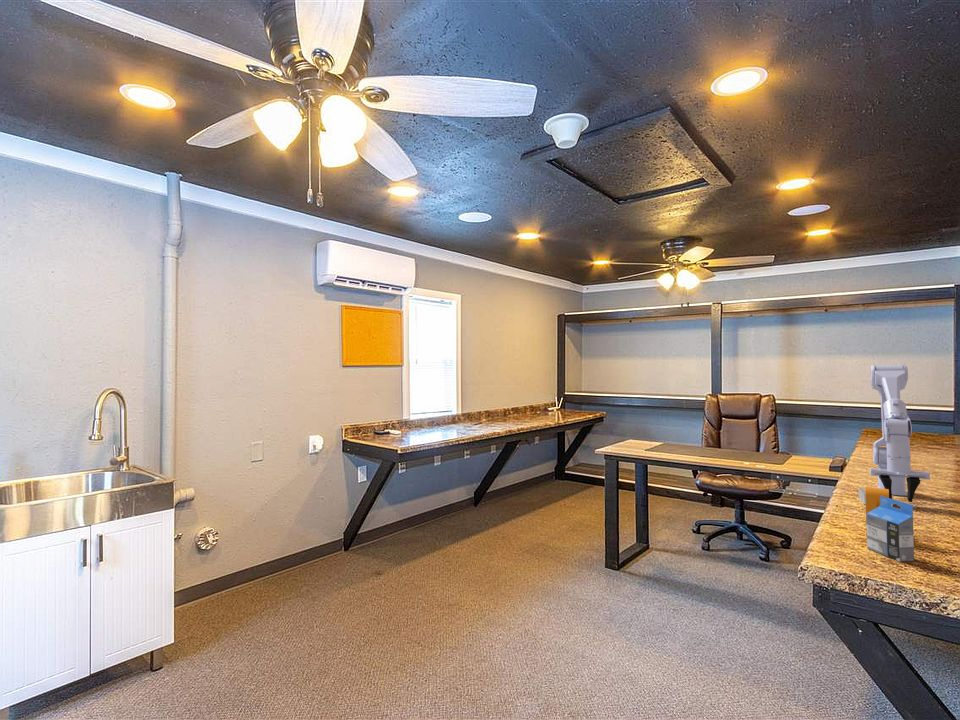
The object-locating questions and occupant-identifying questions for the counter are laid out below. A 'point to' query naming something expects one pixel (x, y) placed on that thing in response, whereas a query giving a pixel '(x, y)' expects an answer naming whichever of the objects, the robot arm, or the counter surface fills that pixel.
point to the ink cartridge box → (891, 530)
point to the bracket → (874, 498)
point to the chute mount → (863, 495)
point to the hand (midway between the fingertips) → (899, 500)
